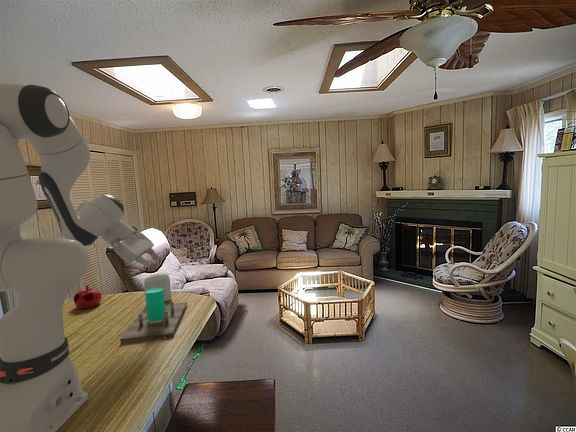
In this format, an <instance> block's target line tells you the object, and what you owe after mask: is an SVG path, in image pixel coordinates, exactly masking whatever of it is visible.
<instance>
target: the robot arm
mask: <svg viewBox="0 0 576 432" xmlns="http://www.w3.org/2000/svg"><path fill="white" fill-rule="evenodd" d="M19 140H28V141H29V143H30V144H31V146H32V147H33V148H34V150H35V152H36V153H37V155H38V157H39V161H40V172H39V174H38V178H37V179H38V182H39V184H40V185H39V186H40V187H41V191H42V192H43V194H44V197H45V199H46V200H47V203H48V205H49V206H50V208H51V210H52V212H53V214H54V216H55V218H56V221H57V223H58V227H59V230H60V233H61V235H62V236H63V238H60V237H41V238H27V239H26V238H25V239H24V238H23V237H22V234H21V225H22V224H24V223H25V222H28V220H30V219H31V218H32V217H33V216H34V215H35V214H36V212H37V210H38V207H39V206H38V205H39V203H38V200H37V197H36V194H35V190H34V187H33V184H32V183H33V182H32V180H31V177H30V174H29V170H28V166H27V164H26V161H25V159H24V157H23V154H22V152H21V149H20V147H19V146H18V143H19ZM90 160H91V151H90V148H89V145H88V143H87V142H86V139H85V138H84V136H83V134H82V132H81V131H80V129H79V128H78V126H77V124H76V123H75V122H74V120H73V119H72V117H71V116H70V112H69V108H68V105H67V104H66V102H65V100H64V99H63V98H62V97H61V96H60V95H59V94H58V93H57V92H56V91H54V90H53V89H51V88H50V87H46V86H42V85H38V84H27V85H25V84H23V85H22V84H9V83H8V84H7V83H6V84H5V83H0V293H1V292H12V291H17V293H18V303H17V305H16V306H14V307H13V308H11V309H10V310H8V311H7V312H6V313H4V314H3V315H2V316H1V318H0V432H58V430H59V429H61V428H62V427H63V425H64V424H65V423H66V422H67V421H68V420H69V419H70V418H71V417H73V415H74V414H75V413H76V412H77V411H78V410H79V409H80V408H81V407H82V406H83V405H84V404H85V403H86V402H87V400H88V399H89V395H88V393H87V392H86V391H84V390H83V387H82V383H81V380H80V376H79V372H78V368H77V366H76V364H74V363H73V361H72V360H71V358H70V356H69V354H70V344H69V342H68V341H69V340H68V338H67V337H66V336H65V328H64V314H63V312H64V311H63V309H64V303H65V300H66V297H67V295H68V293H69V291H70V290H71V288H72V287H73V286H74V285H75V284H76V283H78V282H79V281H81V279H82V278H83V277H84V276H85V274H86V272H87V270H88V268H89V264H90V255H89V252H88V250H87V248H86V247H87V246H92V245H93V244H94V242H96V241H97V240H98V239H99V237H101V239H102V240H103V241H104V242H105V243H106V244H108V245H109V246H111V248H112V249H113V252H114V253H116V255H117V256H118V257H120V259H122V260H123V261H124V262H126V263H127V264H132V263H134V262H135V263H138V264H140V265H143V266H145V267H146V268H148V267H150V266H151V265H152V261H150V260H149V259H146V258H144V255H145V254H147V255H149V256H151V259H152V260H154V261H157V260H158V259H159V258H160V256H159V254H157V252H156V251H155V250H154V249H153V247H154V245H155V244H154V243H153V241H152V240H150V238H148V237H147V236H146V235H145V234H144V233H142V232H140V228H138V227H137V226H132V225H130V224H127V223H126V222H125V221H123V220H121V219H122V217H123V216H124V213H125V206H124V204H123V203H122V202H121V201H120V200H119V199H117V197H115V196H114V195H110V194H100V195H99V196H97V197H95V198H92V199H91V198H90V199H86V200H84V201H82V203H80V204H79V206H77V207H76V209H75V207H74V205H73V203H72V200H71V197H70V194H71V191H72V189H73V186H74V184H75V183H77V182H76V181H77V180H78V179H79V178H80V176H81V175H82V174H83V173H84V172H85V171H86V169H87V168H88V166H89V164H90Z"/></svg>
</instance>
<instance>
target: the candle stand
mask: <svg viewBox="0 0 576 432" xmlns="http://www.w3.org/2000/svg"><path fill="white" fill-rule="evenodd" d="M187 303H188V302H180V303H179V302H177V303H174V301H170V302H169V303H167V304H166V303H165V311H164V315H165V318H164V319H162V320H159V321H154V322H152V321H149V320H148V313H147V304H146V303H145V307H144V309H142V311H141V312H140V313H138V314H137V315H138V316H137V317H136V318H135V319H134V321H133V322H132V324H131V325H130V326H129V327H128V329H127V330H126V331H125V333H123V335H122V336H121V338H120V339H119V341H120V344H127V343H129V344H130V343H137V341H138V342H145V341H144V340H146V341H151V339H155V340H160V339H159V338H163V339H165V338H164V337H171V338H174V336H173V335H175V334H176V331H177V329H178V327H179V325H178V324H180V322H181V320H182V318H183V316H184V313H185V311H186V309H185V308H187V307H186V305H187V306H188V304H187ZM184 310H185V311H184ZM183 312H184V313H183ZM182 315H183V316H182ZM181 317H182V318H181ZM180 319H181V320H180ZM179 321H180V322H179ZM177 326H178V327H177ZM176 328H177V329H176ZM174 333H175V334H174Z"/></svg>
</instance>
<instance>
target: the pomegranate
mask: <svg viewBox="0 0 576 432" xmlns="http://www.w3.org/2000/svg"><path fill="white" fill-rule="evenodd" d="M72 300H73V303H74V305H75V307H76V308H77V309H80V310H82V309H90V308H93V307H96V306H97V305H99V304H100V303H101V302H102V293H101V292H100V291H99V290H97V289H95V288H94V286H92V287H91V288H90V287H89V284H86V285H85V289H83V288H81V289H79V290H78V291H77V292H76V294H74V296H73V299H72Z"/></svg>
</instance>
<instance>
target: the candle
mask: <svg viewBox="0 0 576 432" xmlns="http://www.w3.org/2000/svg"><path fill="white" fill-rule="evenodd" d="M145 293H146V298H145V304H146V303H147V313H148V320H149V321H152V322H154V321H159V320H162V319H164V318H165V315H164V311H165V305H166V301H165V300H164V290H163V288H152V289H149V290H147V291H146V292H145V291H144V294H145Z"/></svg>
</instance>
